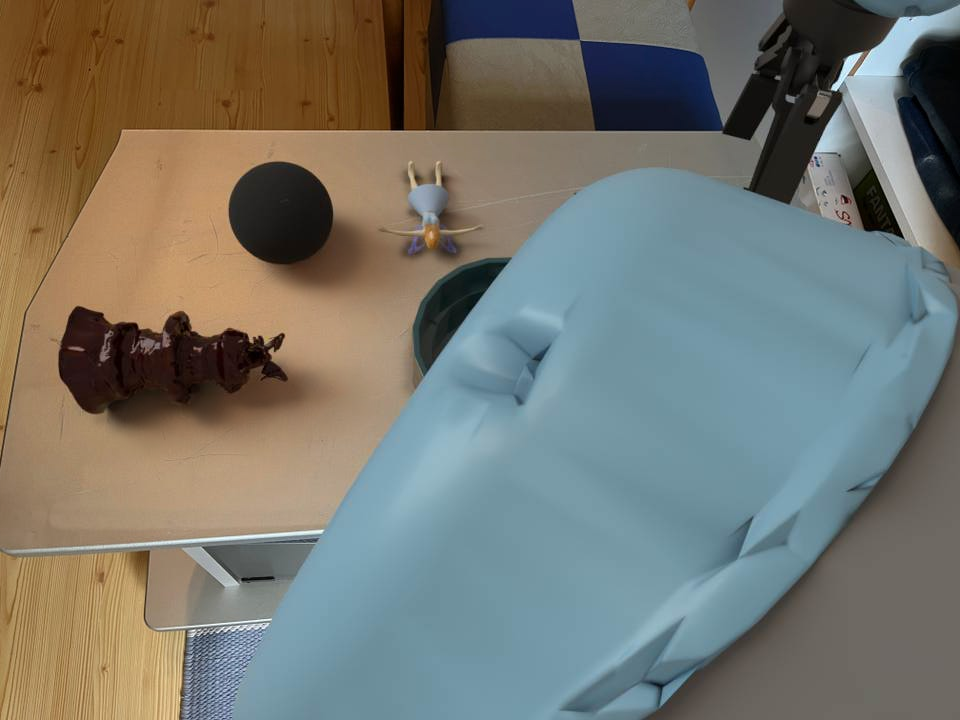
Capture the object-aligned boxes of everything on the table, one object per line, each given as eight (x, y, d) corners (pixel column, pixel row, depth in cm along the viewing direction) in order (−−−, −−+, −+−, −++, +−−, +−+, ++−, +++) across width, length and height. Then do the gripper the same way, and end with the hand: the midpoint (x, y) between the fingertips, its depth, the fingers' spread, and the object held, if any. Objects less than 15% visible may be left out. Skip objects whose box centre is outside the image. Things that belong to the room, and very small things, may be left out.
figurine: (104, 391, 72) (295, 384, 75) (65, 434, 62) (286, 424, 65) (89, 291, 69) (289, 289, 71) (46, 320, 59) (279, 316, 62)
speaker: (354, 258, 78) (349, 195, 69) (267, 299, 74) (249, 239, 66) (307, 193, 81) (297, 125, 72) (222, 230, 78) (200, 163, 69)
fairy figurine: (477, 150, 82) (490, 229, 75) (473, 183, 86) (485, 261, 79) (372, 150, 80) (375, 231, 74) (373, 184, 84) (377, 264, 78)
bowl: (578, 476, 69) (593, 453, 64) (389, 427, 69) (388, 401, 64) (606, 315, 78) (621, 283, 72) (438, 272, 78) (441, 238, 73)
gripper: (808, -144, 55) (702, 85, 73) (804, 81, 43) (678, 286, 61) (907, -120, 55) (776, 103, 73) (931, 112, 43) (767, 309, 61)
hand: (731, 187), depth 67 cm, fingers open, 13 cm apart
